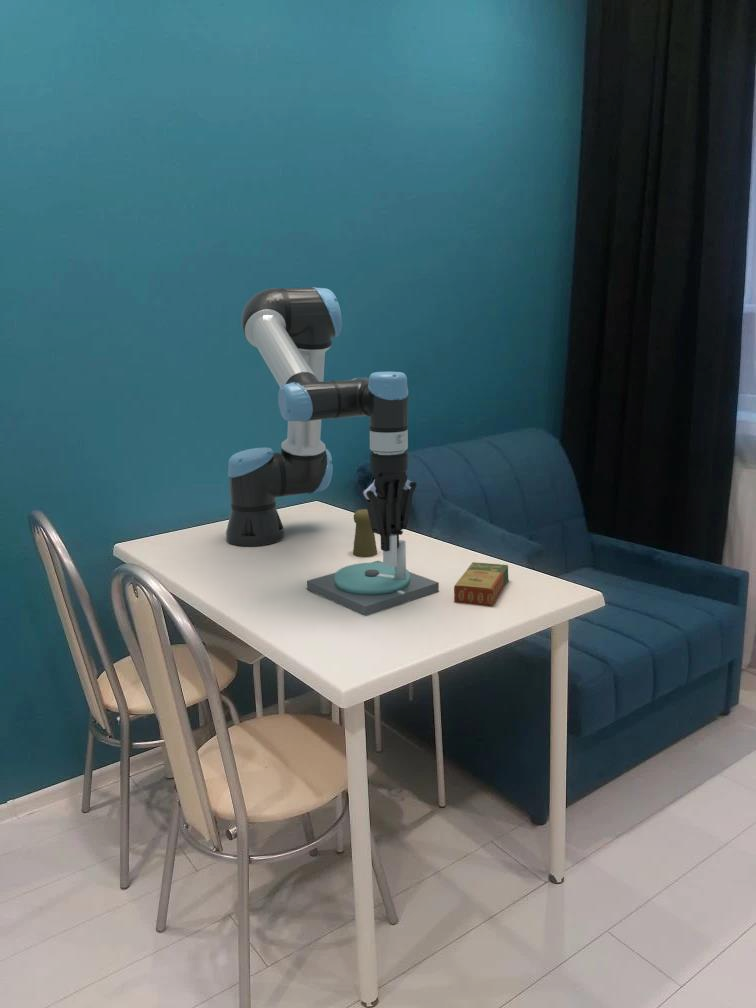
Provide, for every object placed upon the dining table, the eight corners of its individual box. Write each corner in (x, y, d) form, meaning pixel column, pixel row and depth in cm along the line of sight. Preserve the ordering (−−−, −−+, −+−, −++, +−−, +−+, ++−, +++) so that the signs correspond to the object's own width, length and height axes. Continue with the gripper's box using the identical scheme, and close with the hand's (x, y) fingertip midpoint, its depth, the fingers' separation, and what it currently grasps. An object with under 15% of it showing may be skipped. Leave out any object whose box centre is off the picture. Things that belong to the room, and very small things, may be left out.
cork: (378, 549, 194) (377, 507, 192) (376, 557, 188) (375, 513, 186) (354, 549, 195) (353, 507, 192) (351, 557, 189) (350, 513, 186)
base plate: (307, 589, 168) (306, 579, 167) (378, 568, 180) (378, 559, 180) (365, 616, 153) (365, 605, 152) (438, 591, 165) (438, 581, 165)
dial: (321, 588, 162) (319, 545, 160) (354, 565, 176) (353, 525, 174) (391, 599, 156) (391, 553, 154) (420, 574, 170) (420, 532, 168)
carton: (453, 604, 159) (453, 584, 158) (471, 578, 174) (471, 560, 173) (493, 608, 157) (493, 588, 156) (508, 582, 171) (509, 563, 170)
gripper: (375, 458, 147) (377, 576, 153) (425, 449, 155) (425, 562, 161) (351, 453, 153) (353, 567, 159) (401, 445, 161) (401, 554, 167)
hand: (390, 564), depth 160 cm, fingers closed
